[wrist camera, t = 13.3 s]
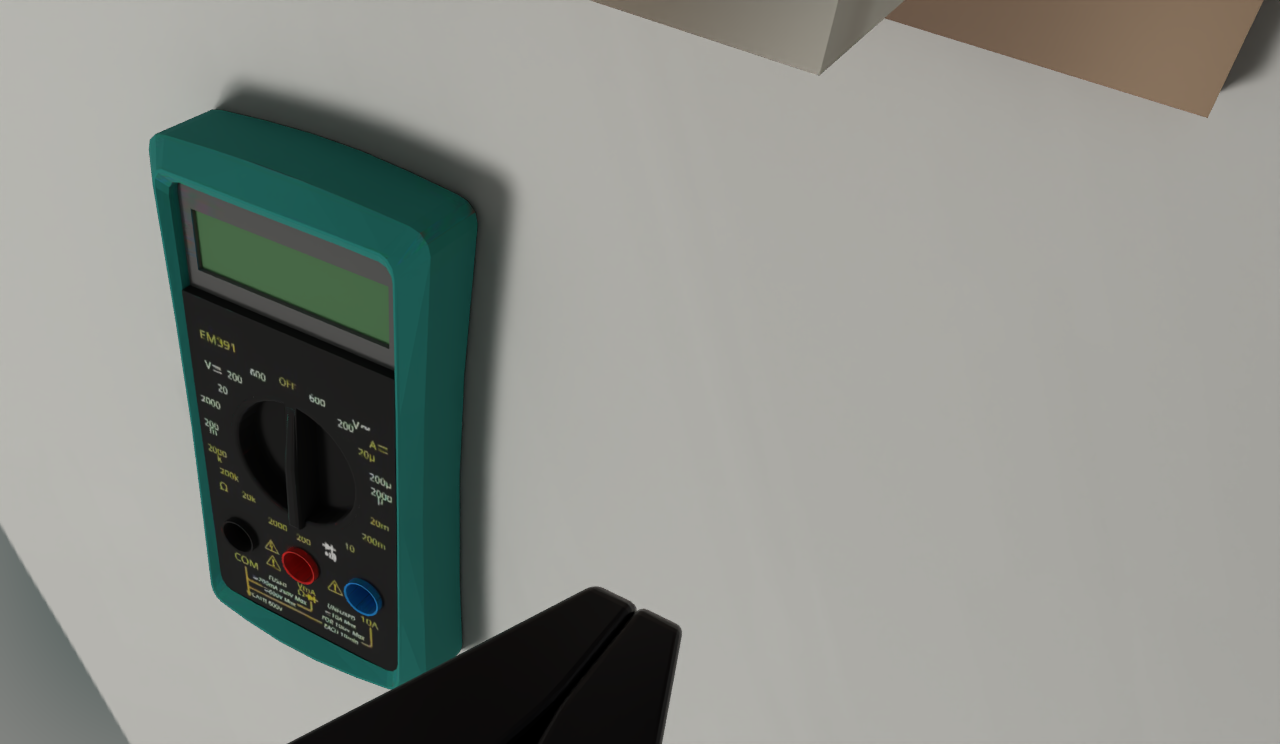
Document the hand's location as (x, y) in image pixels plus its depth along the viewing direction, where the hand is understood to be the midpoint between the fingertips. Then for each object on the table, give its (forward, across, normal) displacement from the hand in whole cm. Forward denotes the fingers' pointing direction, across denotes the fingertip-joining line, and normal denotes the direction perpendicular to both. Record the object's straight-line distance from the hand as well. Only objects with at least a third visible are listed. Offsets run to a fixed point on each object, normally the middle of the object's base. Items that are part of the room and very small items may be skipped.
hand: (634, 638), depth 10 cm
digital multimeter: (+13, +12, +12) cm, 21 cm away
